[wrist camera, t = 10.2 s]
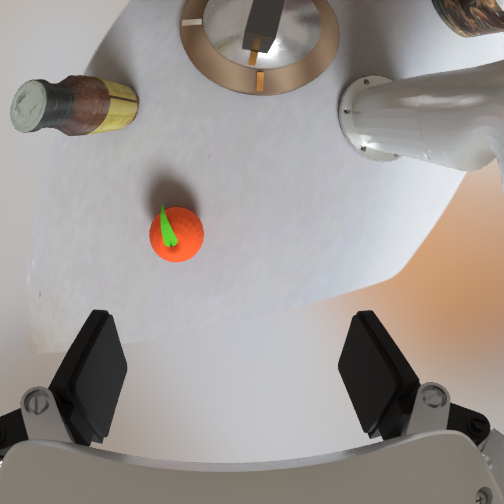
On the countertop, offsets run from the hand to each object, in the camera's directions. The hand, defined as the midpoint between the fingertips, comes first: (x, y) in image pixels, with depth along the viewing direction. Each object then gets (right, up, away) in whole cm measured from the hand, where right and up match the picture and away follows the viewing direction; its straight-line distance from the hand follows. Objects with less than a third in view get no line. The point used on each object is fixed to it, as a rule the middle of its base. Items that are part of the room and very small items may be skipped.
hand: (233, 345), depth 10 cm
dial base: (+2, +32, +17) cm, 36 cm away
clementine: (-9, +8, +27) cm, 30 cm away
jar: (+37, +47, +14) cm, 61 cm away
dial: (+2, +31, +15) cm, 35 cm away
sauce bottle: (-17, +22, +20) cm, 34 cm away
